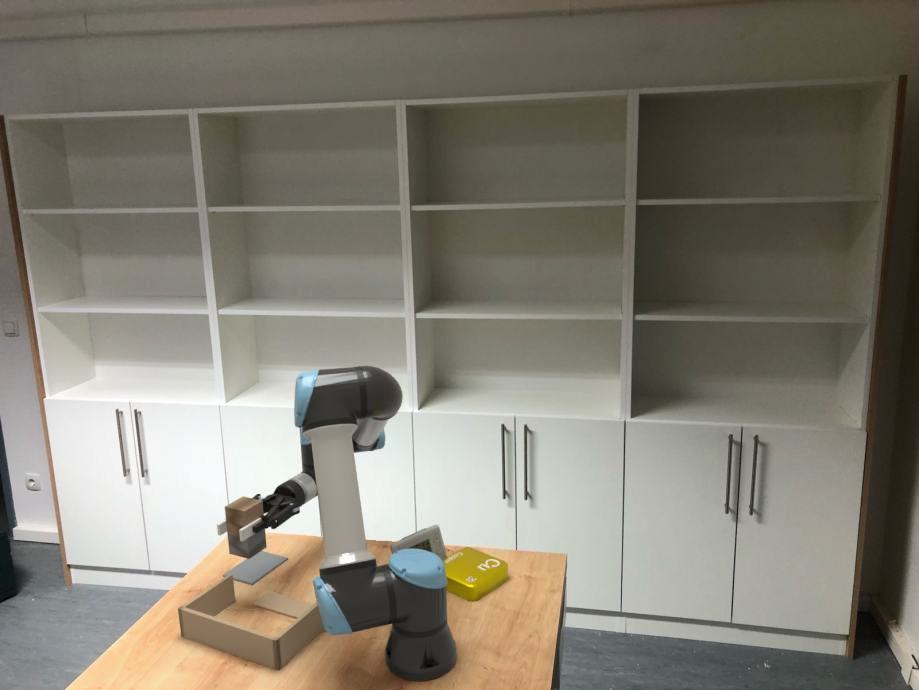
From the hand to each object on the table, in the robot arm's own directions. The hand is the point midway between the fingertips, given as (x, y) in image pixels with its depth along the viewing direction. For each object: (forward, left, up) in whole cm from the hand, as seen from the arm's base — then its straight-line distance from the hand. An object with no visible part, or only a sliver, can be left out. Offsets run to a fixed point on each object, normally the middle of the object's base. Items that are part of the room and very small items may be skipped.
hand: (229, 532), depth 162 cm
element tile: (-43, -37, -22) cm, 61 cm away
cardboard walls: (-7, 0, -21) cm, 23 cm away
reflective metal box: (0, -5, -7) cm, 9 cm away
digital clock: (-30, -35, -22) cm, 51 cm away
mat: (+12, -19, -21) cm, 31 cm away
